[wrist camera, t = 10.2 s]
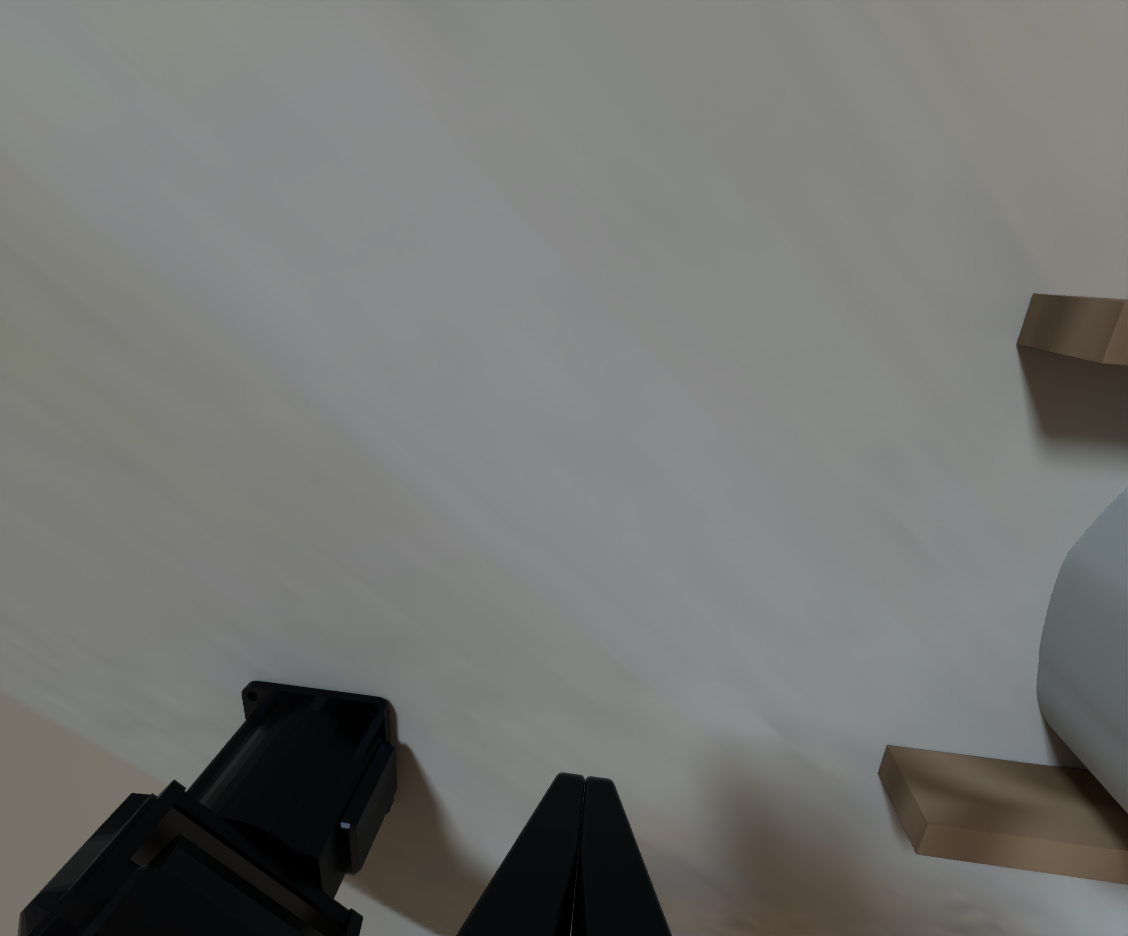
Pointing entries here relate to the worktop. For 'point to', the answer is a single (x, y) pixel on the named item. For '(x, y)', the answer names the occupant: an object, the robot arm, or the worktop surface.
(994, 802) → the bay
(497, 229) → the worktop surface
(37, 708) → the worktop surface
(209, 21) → the worktop surface
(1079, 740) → the lumpy-topped squat cylinder
